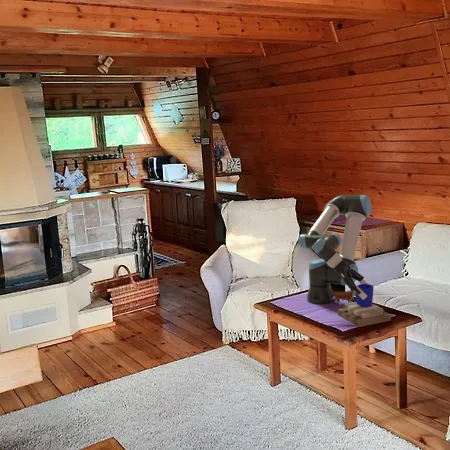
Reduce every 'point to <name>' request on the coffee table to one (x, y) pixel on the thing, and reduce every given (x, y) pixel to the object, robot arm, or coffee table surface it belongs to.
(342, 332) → the coffee table surface
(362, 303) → the mug
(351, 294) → the bull figurine
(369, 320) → the plinth
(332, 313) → the coffee table surface
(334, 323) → the coffee table surface
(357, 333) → the coffee table surface
